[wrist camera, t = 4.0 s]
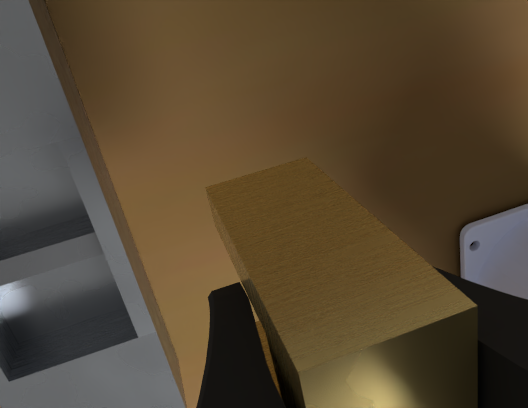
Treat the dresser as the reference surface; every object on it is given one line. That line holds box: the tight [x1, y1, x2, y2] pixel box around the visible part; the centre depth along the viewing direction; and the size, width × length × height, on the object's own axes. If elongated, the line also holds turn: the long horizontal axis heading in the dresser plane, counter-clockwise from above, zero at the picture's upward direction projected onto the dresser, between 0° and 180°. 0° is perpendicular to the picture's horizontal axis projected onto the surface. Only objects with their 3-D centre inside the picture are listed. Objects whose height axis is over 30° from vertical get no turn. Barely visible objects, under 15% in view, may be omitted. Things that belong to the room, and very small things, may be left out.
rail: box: [0, 0, 187, 408], centre depth 16 cm, size 15×5×3 cm, turn 12°
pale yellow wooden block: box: [205, 158, 478, 408], centre depth 10 cm, size 5×2×6 cm, turn 11°
